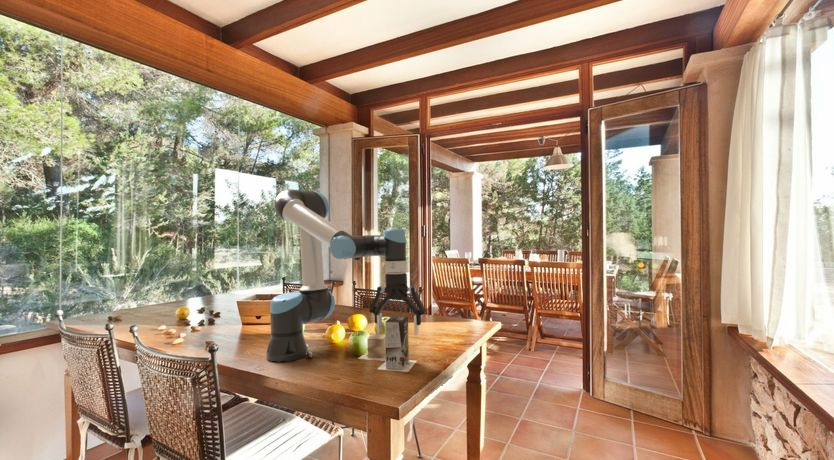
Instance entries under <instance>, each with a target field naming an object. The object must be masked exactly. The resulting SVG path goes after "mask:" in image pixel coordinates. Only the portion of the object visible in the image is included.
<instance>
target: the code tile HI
mask: <svg viewBox="0 0 834 460" xmlns="http://www.w3.org/2000/svg"><path fill="white" fill-rule="evenodd" d="M364 354H365V353H364ZM357 359H358V360H366V361H367V360H369V361H379V362H385V361H386V355H385V356H384V358H373V357H368V353H367V354H365V355H363V354H362V355H360V356H359V357H358V358H357Z"/></svg>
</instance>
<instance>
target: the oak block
mask: <svg viewBox="0 0 834 460" xmlns="http://www.w3.org/2000/svg"><path fill="white" fill-rule="evenodd" d="M366 340H367V351H368V357H373V358H384V356H385V355H386V344H385V343H386V342H385V333H384V334H383V333H380V334H377V333H370V335H369V336H368V337H367V339H366Z"/></svg>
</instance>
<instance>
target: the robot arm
mask: <svg viewBox="0 0 834 460" xmlns="http://www.w3.org/2000/svg"><path fill="white" fill-rule="evenodd" d="M329 204H330V203H329V201H328V199H327V197H326V196H325V195H324V194H323V193H321V192H317V191H314V190H303V189H285V190H283V191H281V192H279V194H278V195H277V196H276V197H275V199H274V210H275V212H276V214H277V216H279V217H280V218H281V219H282V220H284V221H285V222H287V223H291V224H294V225H296V226H297V227H298V228H299V243H300V259H301V275H302V276H301V278H302V279H301V280H302V284H301V285H302V286H301V287H300V288H299V291H293V292H285V293H282V294H278V295H276V296H274V297H273V298H272V299H271V300H270V308H269V312H270V340H269V343H268V346H267V349H266V354H265V355H266V358H267V359H268V360H267V359H266V358H265V359H266V360H267V361H269V360H270V361H269V362H272V361H277V362H276V363H282V362H281V361H287V362H293V361H296V360H300V359H303V358H305V357H306V356H307V355H306V353H307V352H308V353H309V348H308V347H309V346H308V344H307V342H306V338H305V336H304V329H303V326H304V325H306V324H310V323H313V322H317V321H322V320H324V319H326V318H328V317H330V316H331V315H332V313H333V312H334V309H335V305H336V301H335V296H334V295H333V293H332V292H331V291H330V290H329V287H328V285H326V284H325V279H324V278H325V277H324V262H323V261H324V260H323V247H322V245H323V244H324V245H326V246H327V247H328V248H329V250H330V253H331V256H333V257H334V258H336V259H338V260H348V259H349V260H350V259H354V258H365V257H384V268H385V271H384V272H385V286H382V285H380V286H378V287H376V294H375V297H374V299H373V301H372V302H371V306H370V307H369V310H368V312H369V313H370V314H373V315H374V323H375V324H376V327H377V329H376V330H377V333H376V334H382V332H383V315H382V313H381V312H382V310H383V308H385V306H386V305H387V303H388V302H389V301H390V300H392V301H395V300H397V301H400V300H402V301H403V302H404V303H406V305H407V306H408V307H409V308H410V310H411V311H412V312H413V314H415V315H414V316H413V330H414V331H413V333H414V336H417V335H419V334H420V333H419V327H420V325H421V324H422V315H424V314H425V313H426V312H427V310H426V308H425V306H424V304H423V302H422V301H421V299H420V296H419V294H418V290H417V286H415V285H414V286H409V287H408V275H407V271H408V269H407V268H408V267H407V240H406V239H407V238H406V231H405V230H404V229H403V228H392V229H391V228H389V229H384V231H383V234H380V235H379V234H377V235H376V234H375V235H374V234H373V235H372V234H370V235H369V234H367V235H366V234H365V235H352V234H349V233H348V232H346V231H345V230H344V229H341V228H340V227H338V226H337V225H335V224H334V223H332V222H330V221H329V220H327V219H326V217H327V216H328V214H329V212H330V205H329ZM322 243H323V244H322ZM384 292H385V294H386V296H385V297H384V299H383V300H382V301H381V302H380V304H379V301H380V299H381V297H382V295H383V293H384ZM408 292H409V294H411V296H412V299H413V300H414V302H413V301H412V300H411V298H410V296H409V295H408ZM378 304H379V305H378ZM305 355H306V356H305ZM292 360H293V361H292Z"/></svg>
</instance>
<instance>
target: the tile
mask: <svg viewBox="0 0 834 460" xmlns="http://www.w3.org/2000/svg"><path fill="white" fill-rule="evenodd" d="M417 362H418V360H412V359H409V361H408V363H407V364H406V366H405V367H404V369H402V370H400V369H387V368H386V361H383V363H382V364H381V365H379V366H378V367H377V370H384V371H392V372H393V371H395V372H404V373H405V372H406V373H409V372H410V370H411V369H412V368H413V367H414V365H415V364H416V363H417Z"/></svg>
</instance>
